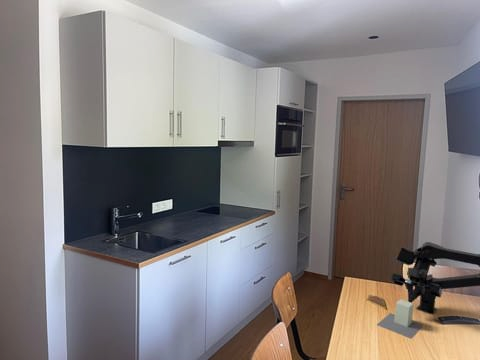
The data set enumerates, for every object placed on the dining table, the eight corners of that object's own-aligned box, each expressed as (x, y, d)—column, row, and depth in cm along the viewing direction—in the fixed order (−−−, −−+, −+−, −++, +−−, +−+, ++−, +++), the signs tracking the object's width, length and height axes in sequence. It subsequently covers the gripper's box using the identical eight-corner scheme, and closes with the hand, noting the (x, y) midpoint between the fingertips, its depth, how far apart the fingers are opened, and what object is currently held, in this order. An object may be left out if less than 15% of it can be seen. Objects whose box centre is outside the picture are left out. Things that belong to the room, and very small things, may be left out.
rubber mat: (390, 313, 146) (390, 312, 146) (423, 325, 137) (423, 325, 137) (376, 325, 136) (376, 324, 136) (411, 339, 127) (411, 338, 127)
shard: (386, 311, 149) (386, 307, 149) (367, 308, 151) (367, 304, 150) (382, 300, 159) (382, 296, 159) (365, 297, 161) (365, 294, 161)
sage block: (398, 317, 142) (400, 299, 141) (411, 322, 139) (413, 303, 138) (394, 322, 138) (395, 302, 138) (407, 327, 135) (409, 307, 134)
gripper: (394, 254, 150) (382, 286, 144) (442, 266, 137) (431, 301, 131) (399, 267, 157) (388, 298, 150) (446, 280, 144) (435, 314, 137)
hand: (409, 302), depth 142 cm, fingers closed
